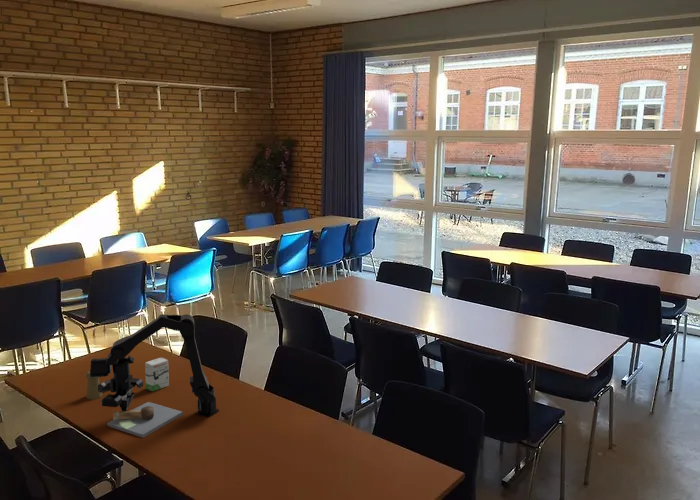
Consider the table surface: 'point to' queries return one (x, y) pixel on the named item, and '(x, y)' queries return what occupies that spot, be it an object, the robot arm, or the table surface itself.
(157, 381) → the ink box
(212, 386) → the robot arm
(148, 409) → the peg lever
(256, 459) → the table surface
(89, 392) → the cork
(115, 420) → the board
